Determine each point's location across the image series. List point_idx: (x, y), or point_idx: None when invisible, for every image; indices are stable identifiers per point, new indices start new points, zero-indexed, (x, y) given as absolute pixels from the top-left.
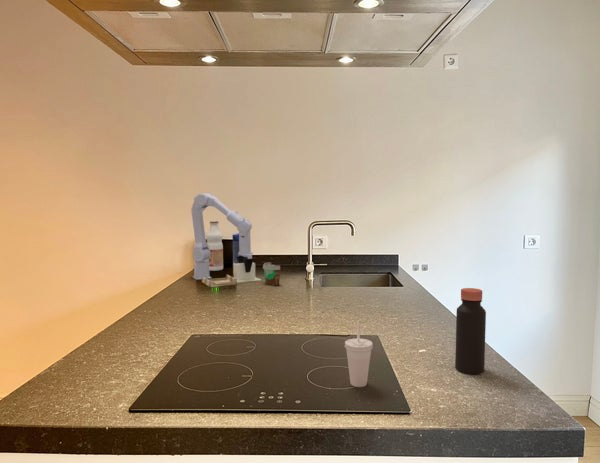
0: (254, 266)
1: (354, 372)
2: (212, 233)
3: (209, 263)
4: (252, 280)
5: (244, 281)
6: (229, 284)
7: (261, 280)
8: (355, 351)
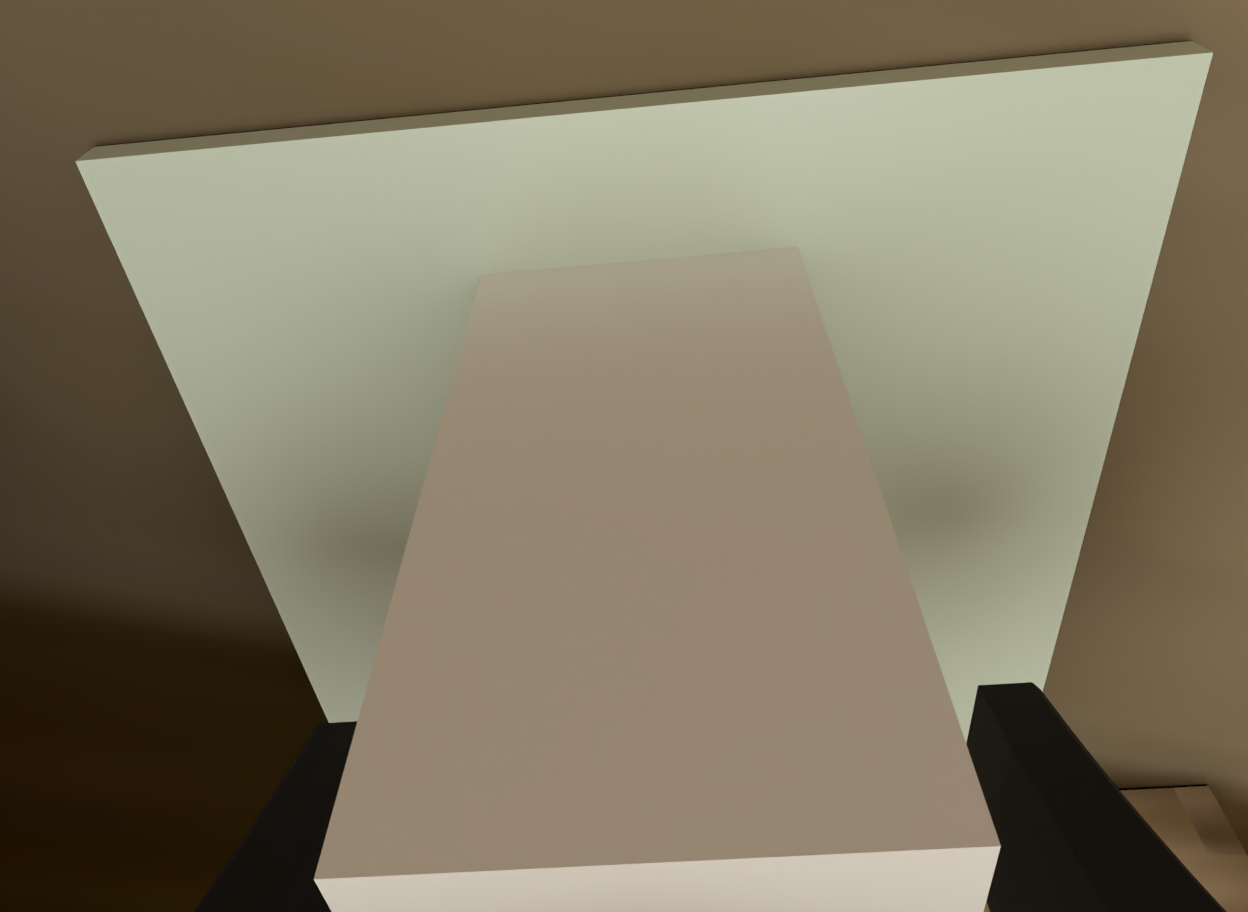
0: (922, 663)
1: None
2: None
3: None
4: (1048, 418)
5: (1034, 631)
6: None
7: (1195, 82)
8: None
